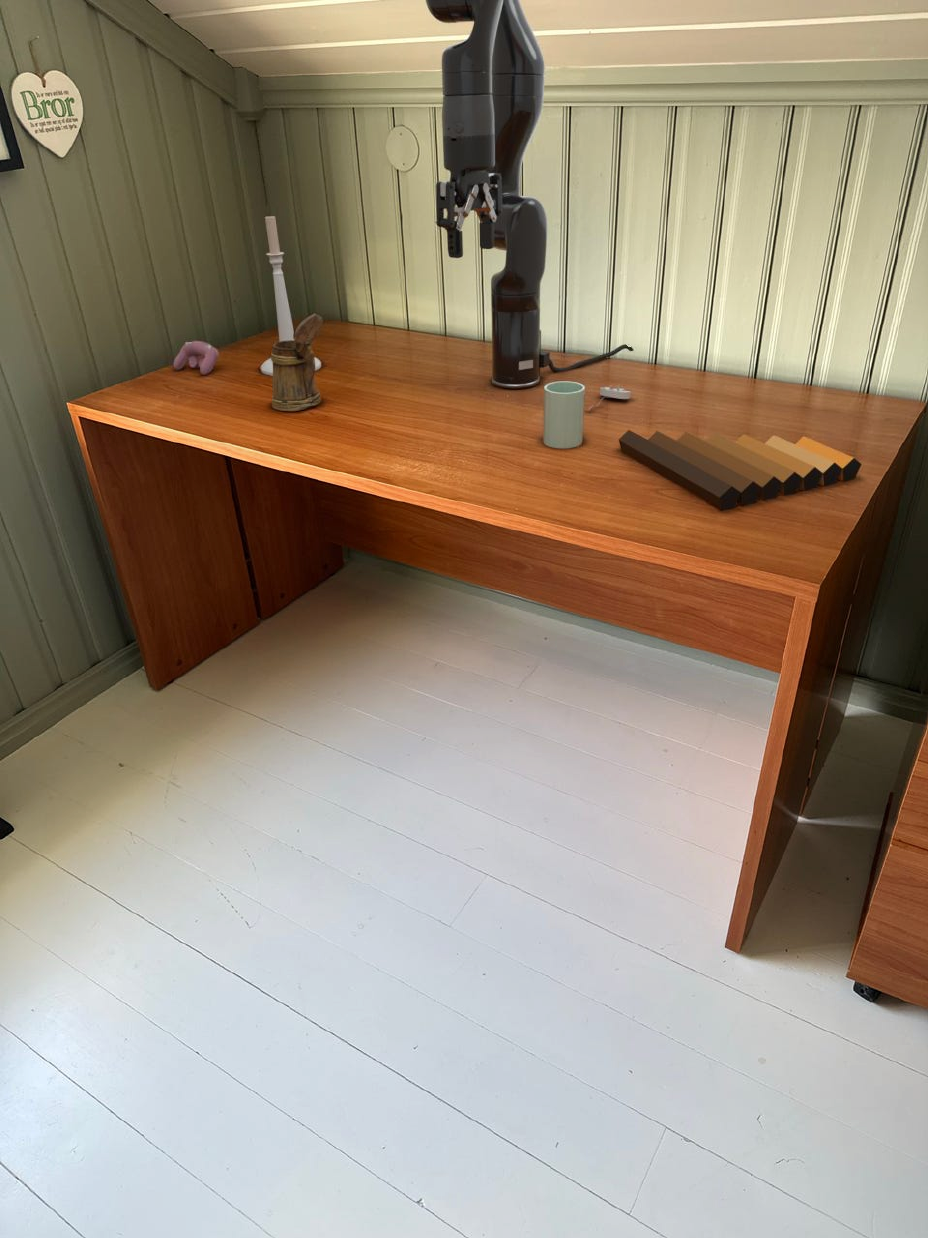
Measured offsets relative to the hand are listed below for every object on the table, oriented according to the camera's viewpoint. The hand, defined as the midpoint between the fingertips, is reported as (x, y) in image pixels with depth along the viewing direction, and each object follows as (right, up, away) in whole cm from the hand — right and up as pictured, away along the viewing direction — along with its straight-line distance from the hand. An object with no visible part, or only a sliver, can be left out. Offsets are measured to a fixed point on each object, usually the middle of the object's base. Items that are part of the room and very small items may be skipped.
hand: (471, 252), depth 130 cm
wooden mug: (-31, -17, +28) cm, 45 cm away
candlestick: (-38, -3, +51) cm, 64 cm away
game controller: (+25, -17, +24) cm, 39 cm away
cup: (+15, -27, +8) cm, 32 cm away
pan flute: (+40, -33, -2) cm, 52 cm away
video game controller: (-59, -3, +52) cm, 78 cm away
